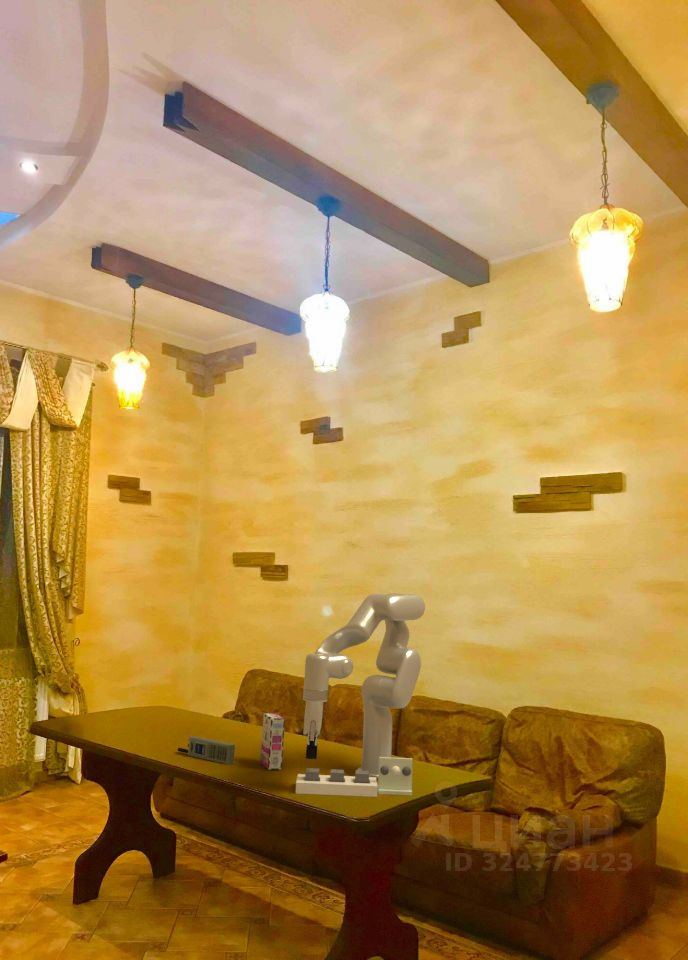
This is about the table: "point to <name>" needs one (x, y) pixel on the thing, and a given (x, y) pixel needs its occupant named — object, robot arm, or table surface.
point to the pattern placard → (395, 776)
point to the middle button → (337, 775)
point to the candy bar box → (272, 741)
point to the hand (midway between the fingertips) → (311, 758)
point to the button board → (336, 786)
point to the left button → (312, 774)
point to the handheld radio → (210, 750)
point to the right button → (361, 776)
